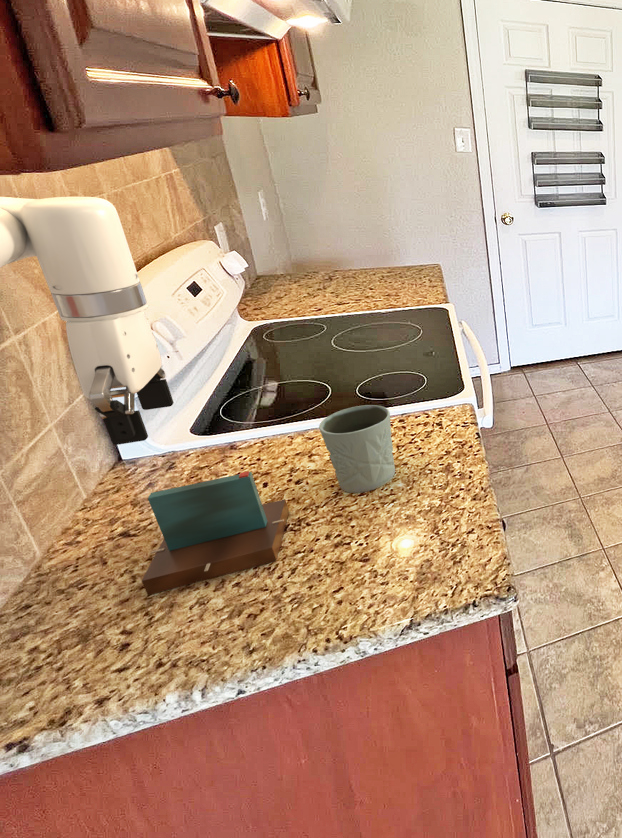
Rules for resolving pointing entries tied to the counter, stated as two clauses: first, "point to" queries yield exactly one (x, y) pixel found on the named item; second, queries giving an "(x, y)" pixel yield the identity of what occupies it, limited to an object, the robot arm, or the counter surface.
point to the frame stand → (218, 554)
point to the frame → (208, 510)
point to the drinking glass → (360, 447)
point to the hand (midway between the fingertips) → (145, 423)
